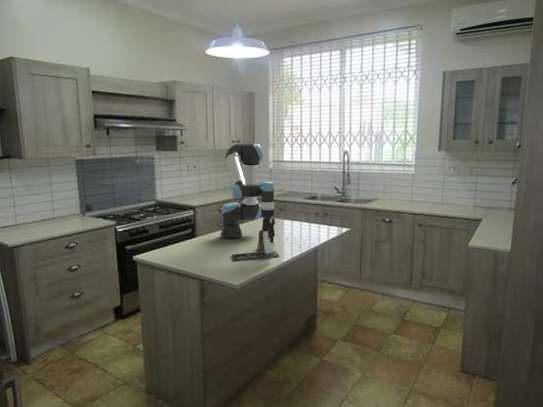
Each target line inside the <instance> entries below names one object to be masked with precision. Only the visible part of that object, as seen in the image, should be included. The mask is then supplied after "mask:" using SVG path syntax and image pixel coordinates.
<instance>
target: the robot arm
mask: <svg viewBox="0 0 543 407" xmlns="http://www.w3.org/2000/svg"><path fill="white" fill-rule="evenodd" d="M262 150H263V149H262V147H261V145H260V144H259V143H253V142H252V143H235V144H232V145H231V146H230V147H229V148H228V149H227V150H226V152H225V156H224V158H225V163H226V164H227V165H228V168H229V172H230V176H231V180H232V183H233V185H232V186H231V196H232V198H235V199H243V200H242V201H241V204H240V203H239V202H236V201H235V202H230V203H229V202H228V203H225V204H223V205H222V207H221V213H222V215H221V216H222V227H221V230H220V238H221V239H225V240H235V239H236V240H237V239H240V238H242V237H243V231H242V229H241V226H240V222H246V221H248V222H249V221H257V220H259V219H260V218H261V217H262V227H261V230H263V231H264V232H263V242H264V240H268V237H269V248H273V249H274V248H275V241H274V240H275V236H276V234H275V227H274V226H275V225H274V226H273V219H271V218H272V217H274V216H275V186H274V182H273V181H262V182H260V183H258V167H259V165H260V162H262V161H263V151H262ZM241 162H242V164H241ZM242 165H243V166H244V170H243V167H242ZM259 197H260V203H259V200H258V198H259ZM268 232H269V236H268Z"/></svg>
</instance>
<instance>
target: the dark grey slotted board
mask: <svg viewBox="0 0 543 407" xmlns="http://www.w3.org/2000/svg"><path fill="white" fill-rule="evenodd" d="M279 257H280V254H279V253H278V252H277V251H276V250H273V255H265V254H264V251H257V252H245V253H244V252H243V253H235V254H234V253H233V254H231V258H232V260H233V261H234V262H239V261H240V262H241V261H250V260H259V259H271V258H272V259H273V258H279Z"/></svg>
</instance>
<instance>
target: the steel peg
mask: <svg viewBox="0 0 543 407" xmlns="http://www.w3.org/2000/svg"><path fill="white" fill-rule="evenodd" d="M273 251H274V248H269V240H264V250H263V252H264V254H265V255H273Z"/></svg>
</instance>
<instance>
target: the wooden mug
mask: <svg viewBox="0 0 543 407" xmlns="http://www.w3.org/2000/svg"><path fill="white" fill-rule="evenodd" d="M271 219H273V226H275V224H276V219H275V218H274V217H271ZM263 232H264V231H263V230H262V229H261V230H259V232H258V242H257V248H256V249H257V250H259V251H264V242H263ZM268 236H269V232H268ZM268 240H269V237H268Z"/></svg>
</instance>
